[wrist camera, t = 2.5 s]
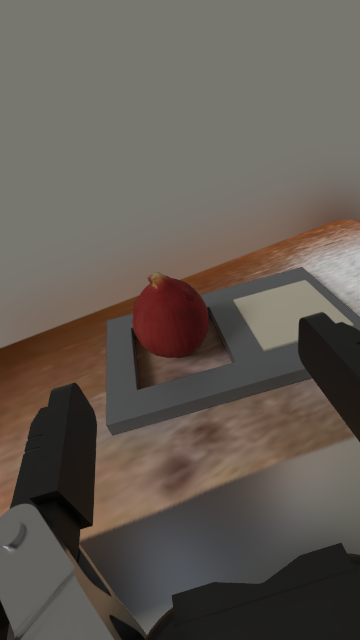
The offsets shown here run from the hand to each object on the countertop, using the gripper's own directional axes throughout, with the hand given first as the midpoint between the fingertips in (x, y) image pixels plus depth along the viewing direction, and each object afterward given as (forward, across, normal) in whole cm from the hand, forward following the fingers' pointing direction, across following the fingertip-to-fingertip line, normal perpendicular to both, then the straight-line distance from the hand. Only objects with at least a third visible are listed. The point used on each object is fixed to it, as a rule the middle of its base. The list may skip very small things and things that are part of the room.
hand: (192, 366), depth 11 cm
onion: (+12, 0, +10) cm, 15 cm away
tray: (+12, -4, +10) cm, 16 cm away
